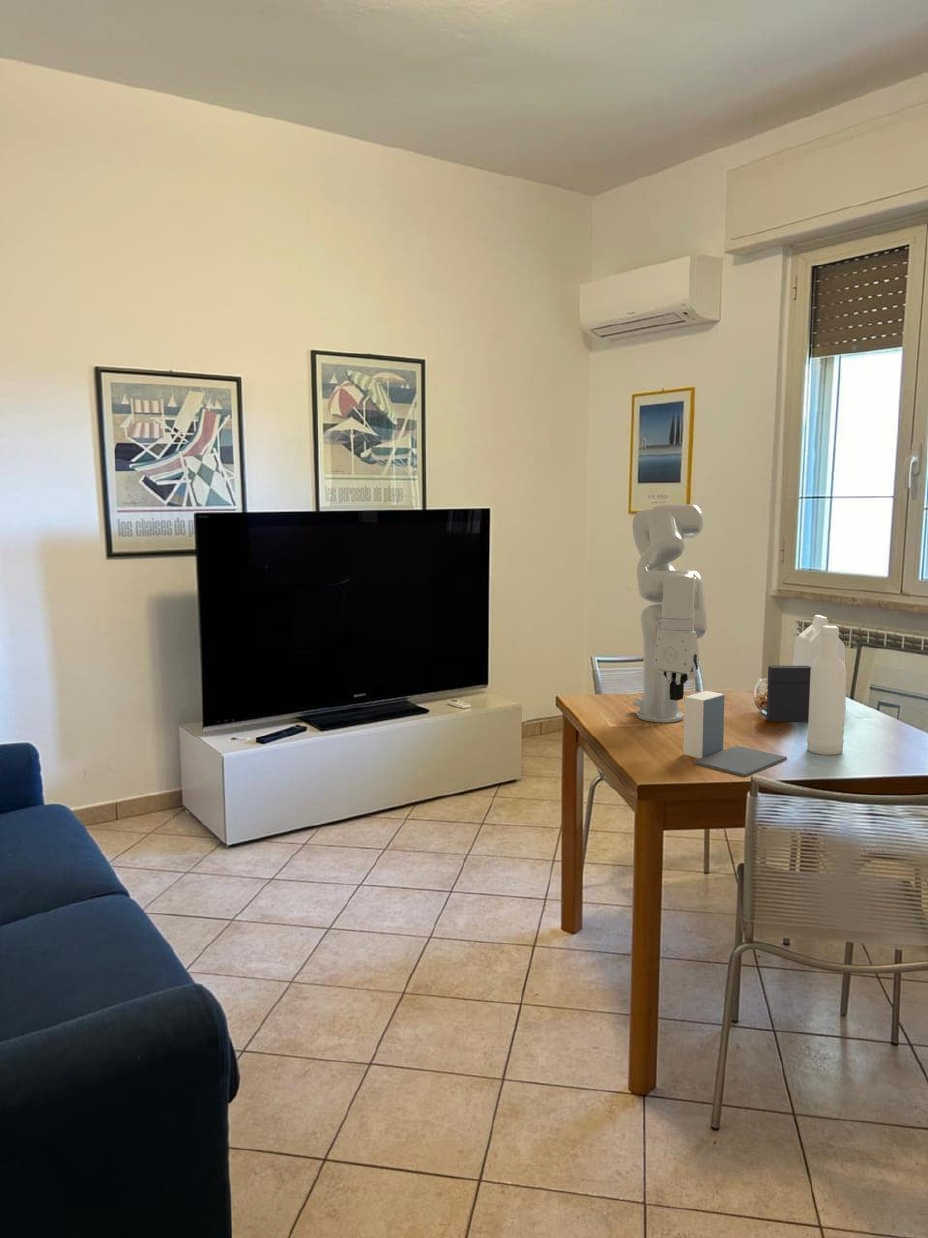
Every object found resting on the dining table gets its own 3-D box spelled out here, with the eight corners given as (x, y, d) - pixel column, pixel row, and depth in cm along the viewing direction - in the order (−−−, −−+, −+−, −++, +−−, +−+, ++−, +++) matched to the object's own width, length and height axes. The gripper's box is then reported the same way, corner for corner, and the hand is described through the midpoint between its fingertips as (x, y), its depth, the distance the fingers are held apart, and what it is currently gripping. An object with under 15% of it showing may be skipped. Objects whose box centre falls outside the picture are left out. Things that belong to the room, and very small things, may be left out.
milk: (845, 709, 244) (849, 619, 240) (805, 709, 244) (808, 619, 240) (828, 699, 255) (832, 613, 252) (789, 700, 256) (793, 613, 252)
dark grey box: (806, 718, 234) (809, 665, 232) (811, 722, 229) (813, 668, 227) (765, 718, 235) (767, 664, 233) (769, 722, 230) (771, 667, 228)
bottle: (799, 748, 206) (804, 625, 202) (823, 744, 209) (829, 623, 205) (825, 757, 199) (831, 630, 195) (850, 752, 202) (856, 627, 198)
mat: (693, 763, 196) (693, 761, 196) (736, 747, 207) (736, 745, 207) (744, 776, 186) (744, 774, 186) (786, 759, 198) (786, 757, 198)
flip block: (683, 754, 203) (684, 696, 201) (705, 746, 209) (706, 690, 207) (701, 758, 199) (703, 700, 197) (723, 751, 205) (724, 694, 203)
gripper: (642, 623, 209) (641, 697, 211) (695, 629, 198) (693, 706, 200) (661, 620, 214) (660, 692, 216) (713, 626, 203) (711, 702, 205)
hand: (676, 699), depth 208 cm, fingers closed
